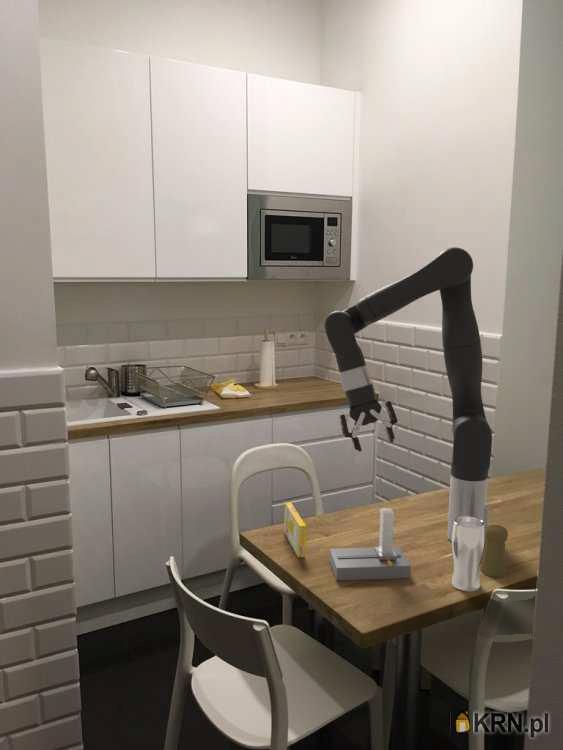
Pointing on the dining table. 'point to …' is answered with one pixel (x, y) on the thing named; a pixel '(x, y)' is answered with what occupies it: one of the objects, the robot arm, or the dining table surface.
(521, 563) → the dining table surface
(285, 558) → the dining table surface
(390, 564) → the fader console
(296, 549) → the candy box
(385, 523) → the slider tab
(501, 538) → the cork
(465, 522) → the beer glass
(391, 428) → the robot arm
